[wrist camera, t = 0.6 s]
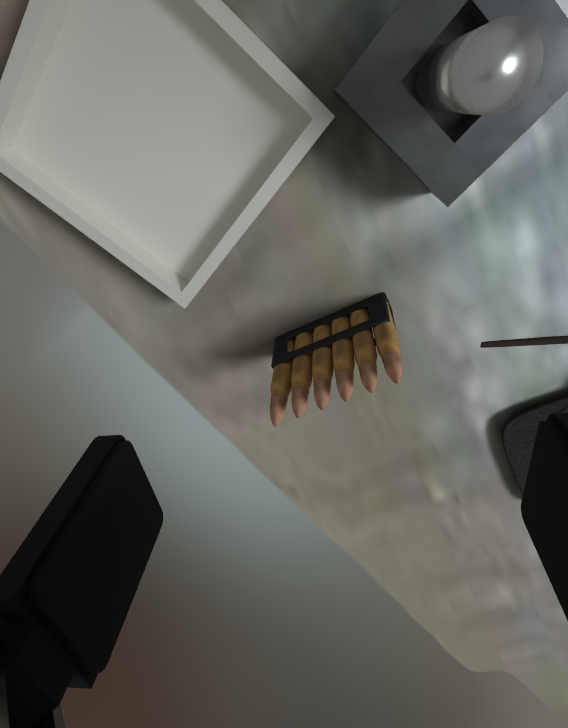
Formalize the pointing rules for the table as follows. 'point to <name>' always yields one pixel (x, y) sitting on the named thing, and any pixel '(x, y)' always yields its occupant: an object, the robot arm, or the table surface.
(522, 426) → the sushi plate
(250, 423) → the table surface
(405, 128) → the pin block
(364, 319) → the ammunition clip
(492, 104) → the pin
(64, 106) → the tray
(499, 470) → the table surface
